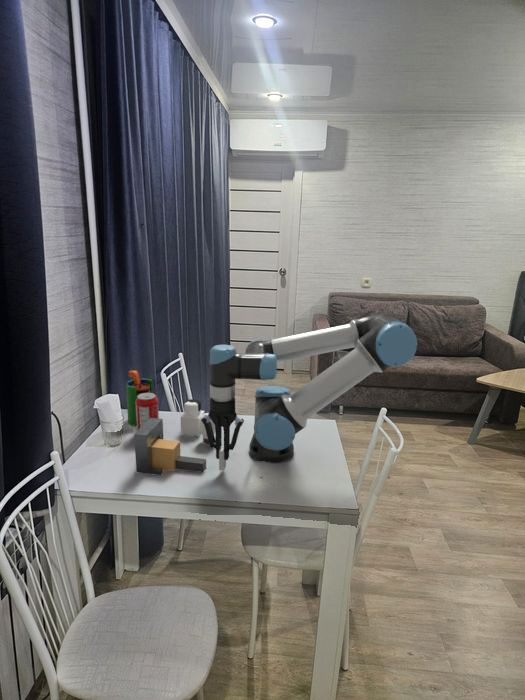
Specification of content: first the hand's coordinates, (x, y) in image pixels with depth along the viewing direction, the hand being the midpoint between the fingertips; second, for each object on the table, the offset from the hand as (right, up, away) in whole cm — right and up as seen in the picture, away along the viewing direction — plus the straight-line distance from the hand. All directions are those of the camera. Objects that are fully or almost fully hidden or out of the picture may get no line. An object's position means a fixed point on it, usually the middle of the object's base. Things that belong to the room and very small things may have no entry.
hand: (222, 468), depth 137 cm
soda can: (-29, +6, +24) cm, 38 cm away
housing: (-21, 0, +4) cm, 22 cm away
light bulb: (-7, +4, +19) cm, 21 cm away
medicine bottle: (-13, +6, +27) cm, 31 cm away
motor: (-35, +9, +35) cm, 50 cm away
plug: (-14, 0, +3) cm, 14 cm away
